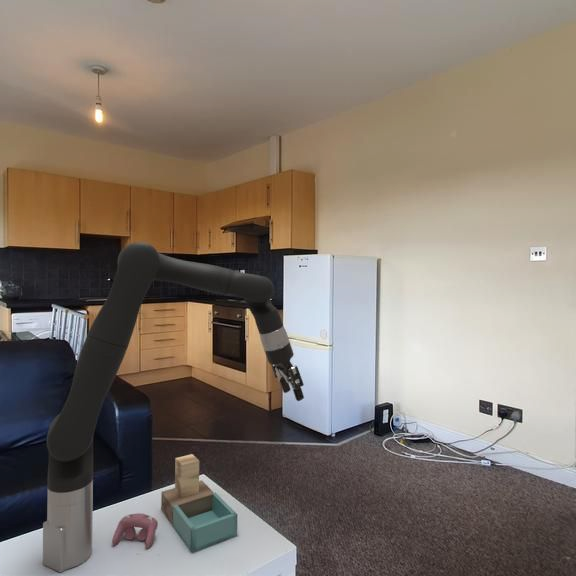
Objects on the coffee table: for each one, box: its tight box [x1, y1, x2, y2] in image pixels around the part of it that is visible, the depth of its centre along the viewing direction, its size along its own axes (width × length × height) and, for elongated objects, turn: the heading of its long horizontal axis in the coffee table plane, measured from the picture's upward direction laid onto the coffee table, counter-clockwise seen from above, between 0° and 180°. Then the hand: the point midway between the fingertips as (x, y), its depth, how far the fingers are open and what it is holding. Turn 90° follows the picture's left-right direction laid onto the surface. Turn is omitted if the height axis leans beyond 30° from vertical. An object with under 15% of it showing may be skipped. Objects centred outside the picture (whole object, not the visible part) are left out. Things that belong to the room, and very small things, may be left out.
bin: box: [172, 491, 238, 554], centre depth 106 cm, size 13×12×6 cm
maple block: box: [174, 453, 200, 498], centre depth 116 cm, size 5×5×9 cm
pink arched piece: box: [111, 513, 158, 549], centre depth 102 cm, size 10×5×7 cm, turn 84°
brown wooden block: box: [160, 480, 215, 527], centre depth 115 cm, size 9×12×5 cm
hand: (293, 395), depth 119 cm, fingers open, 8 cm apart
